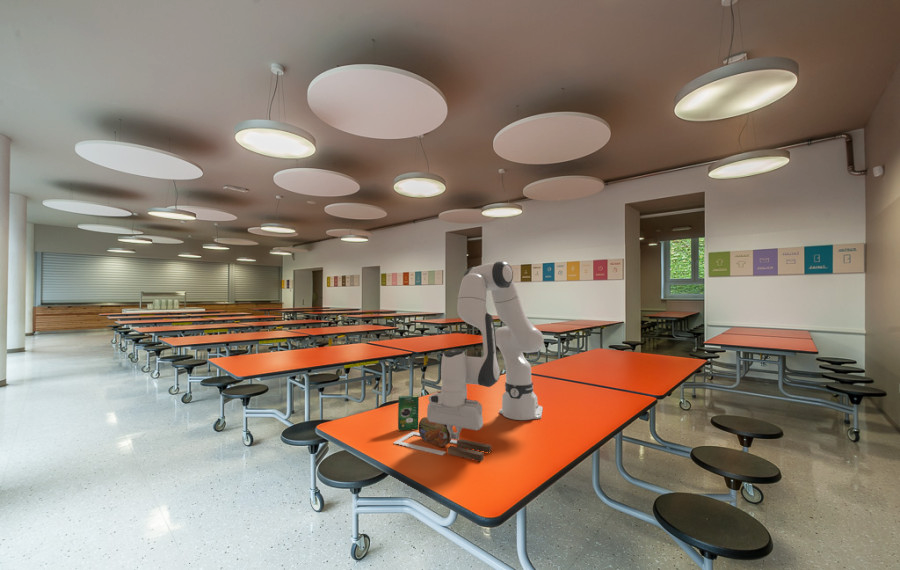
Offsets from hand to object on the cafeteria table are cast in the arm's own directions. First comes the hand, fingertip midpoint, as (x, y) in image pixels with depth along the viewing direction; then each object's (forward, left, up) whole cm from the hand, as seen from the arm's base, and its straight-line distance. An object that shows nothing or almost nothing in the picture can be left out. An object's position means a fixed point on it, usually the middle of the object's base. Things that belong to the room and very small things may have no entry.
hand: (454, 438), depth 118 cm
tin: (-2, -9, -4) cm, 10 cm away
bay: (0, -11, -4) cm, 12 cm away
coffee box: (-8, -25, -4) cm, 27 cm away
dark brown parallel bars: (0, +6, -4) cm, 7 cm away
